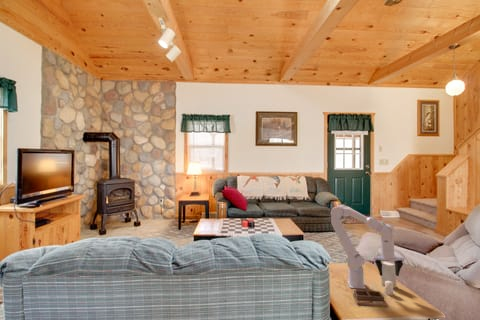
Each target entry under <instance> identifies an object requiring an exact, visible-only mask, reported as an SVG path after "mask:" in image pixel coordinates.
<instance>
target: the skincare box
mask: <svg viewBox="0 0 480 320" xmlns="http://www.w3.org/2000/svg"><path fill="white" fill-rule="evenodd" d="M381 263H382V276H380V277H381V278H380V279H381V285H382V286H385V281H392V282H393V289H394V288H396V287H397V276H396V274H395V263H391V262H390V261H381Z"/></svg>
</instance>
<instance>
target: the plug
mask: <svg viewBox="0 0 480 320" xmlns="http://www.w3.org/2000/svg"><path fill="white" fill-rule="evenodd" d="M384 287H385V289H384V290H385V291H384V292H385V293H384V294H385V295H387V296H394V288H393V282H392V281H385V285H384Z"/></svg>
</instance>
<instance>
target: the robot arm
mask: <svg viewBox="0 0 480 320" xmlns="http://www.w3.org/2000/svg"><path fill="white" fill-rule="evenodd" d="M330 210H331V211H330V218H331V219H330V224H331V226H332V227H333V230H334V232H335V234H336V236H337V238H338V240H339V241H340V244H341V246H342V248H343V250H344V252H345V259H346V262H347V267H348V279H347V280H346V282H347V284H348V286H349V288H350V289H362V290H366V289H367V287H366V285H365V283H364V280H365V279H364V277H365V276H364V268H363V266H364V265H365V259H364V257H363V256H362V255H361V254H360V253H359V251H358V250H357V249H356V248H355V247H354V244H353V242H352V240H351V238H350V236H349V234H348V233H347V231H346V229H345V226H344V224H343V221H344V218H345V217H346V218H347V217H348V218H349V217H351V218H354V219H356V220H358V221H359V222H362V223H364V224H365V226H366V227H367V228H369V229H370V230H373V231H375V232H377V233H378V234H380V237H381V238H380V241H381V244H380V245H381V255H375V256H372V261H373V262H374V263H375V265H376V268H377V269H378V274H379V275H380V277H381V276H382V262H384V261H386V262H394V264H395V274H396V277H399V276H400V272H401V269H402V267H403V266H404V263H405V257H404V256H395V240H394V234H395V227H394V226H393V225H392V224H391V223H386V222H385V221H382V220H379V219H377V217H376V216H369V217H368V216H366V215H365V214H362V213H360V212H359V211H357V210H355V209H354V208H352V207H350V206H348V205H345V204H339V205H335V206H334V207H332V209H330Z"/></svg>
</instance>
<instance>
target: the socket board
mask: <svg viewBox="0 0 480 320" xmlns="http://www.w3.org/2000/svg"><path fill="white" fill-rule="evenodd" d="M352 297H353V299H354V301H355V303H356V305H357V306H371V307H388V304H387V302H386V301H385V297H384V295H383V294H382V292H381V291H377V290H376V291H375V290H359V289H358V290H357V289H354V290H353V293H352Z"/></svg>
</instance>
